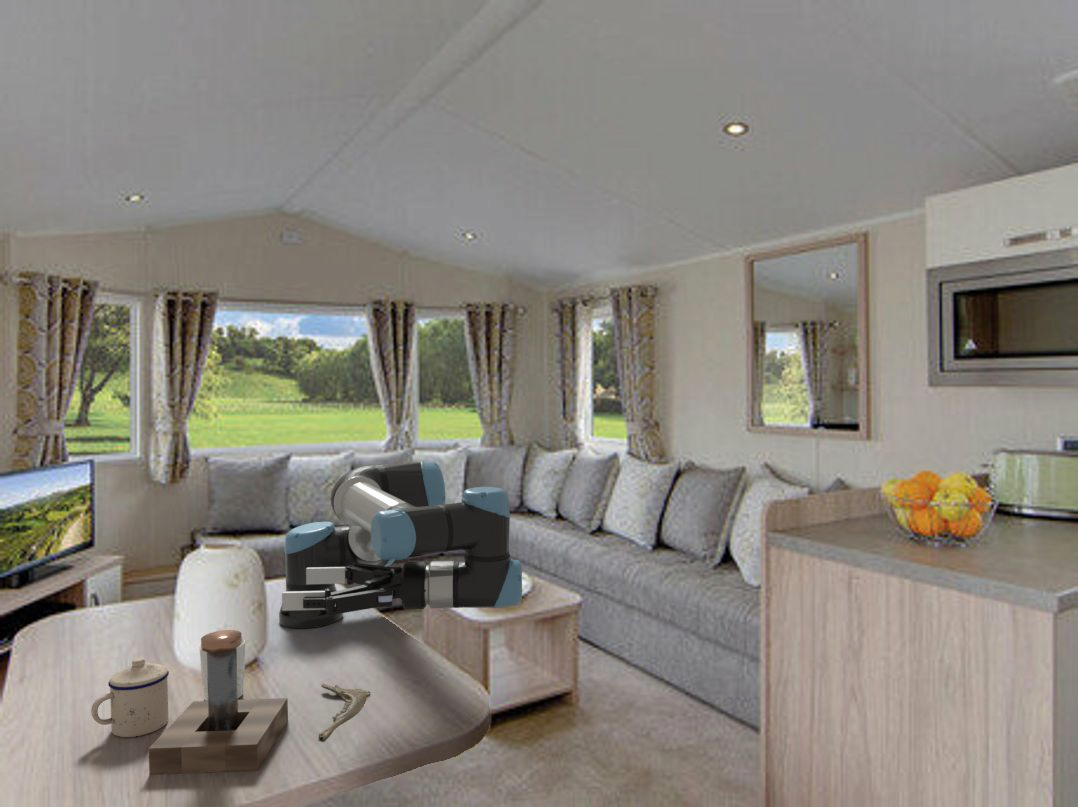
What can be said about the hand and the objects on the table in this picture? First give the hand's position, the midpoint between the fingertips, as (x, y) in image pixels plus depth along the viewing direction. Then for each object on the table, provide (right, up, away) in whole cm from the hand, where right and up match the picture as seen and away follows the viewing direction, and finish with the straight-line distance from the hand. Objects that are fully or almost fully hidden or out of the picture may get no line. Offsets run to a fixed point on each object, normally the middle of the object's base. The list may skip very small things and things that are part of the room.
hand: (295, 587), depth 117 cm
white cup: (-20, -26, +19) cm, 38 cm away
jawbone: (+1, -26, +12) cm, 29 cm away
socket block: (-12, -26, +1) cm, 28 cm away
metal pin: (-12, -26, +1) cm, 28 cm away
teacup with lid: (-30, -26, +7) cm, 40 cm away
